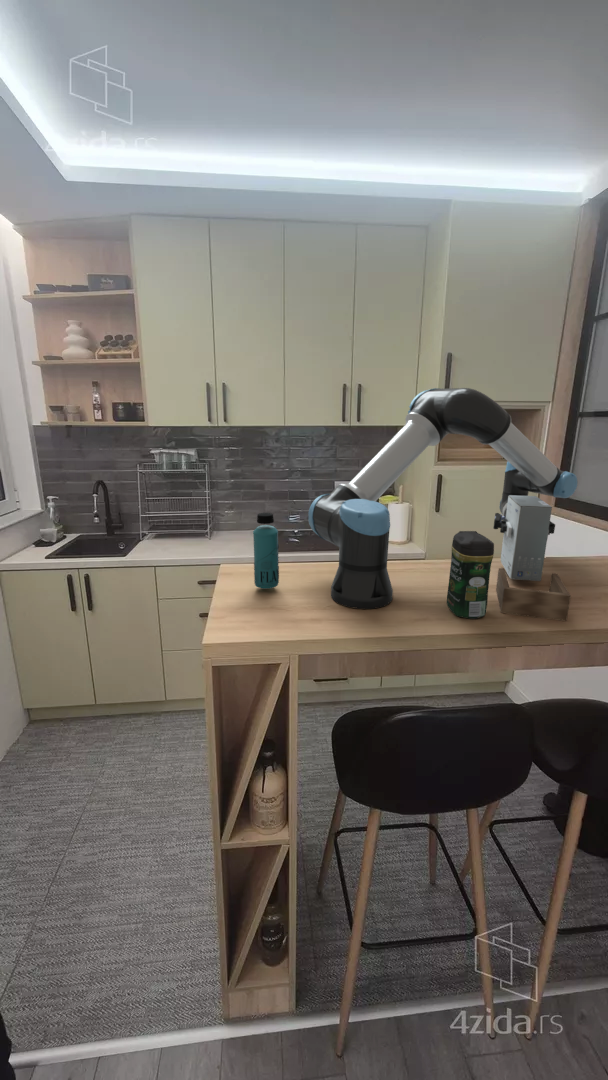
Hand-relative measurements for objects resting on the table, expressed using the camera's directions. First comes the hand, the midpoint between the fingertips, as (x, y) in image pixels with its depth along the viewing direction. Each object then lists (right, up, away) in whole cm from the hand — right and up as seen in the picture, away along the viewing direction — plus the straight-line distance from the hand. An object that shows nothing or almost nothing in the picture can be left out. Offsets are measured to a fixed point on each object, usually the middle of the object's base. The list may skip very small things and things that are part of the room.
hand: (527, 533), depth 120 cm
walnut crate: (-4, -17, -9) cm, 20 cm away
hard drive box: (+1, -10, +8) cm, 13 cm away
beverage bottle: (-68, -15, -1) cm, 69 cm away
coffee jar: (-21, -18, -13) cm, 31 cm away
